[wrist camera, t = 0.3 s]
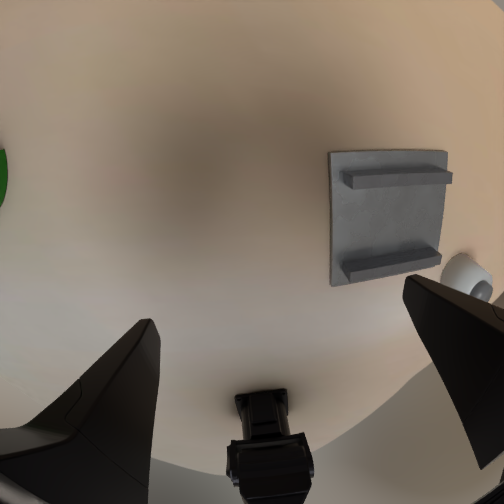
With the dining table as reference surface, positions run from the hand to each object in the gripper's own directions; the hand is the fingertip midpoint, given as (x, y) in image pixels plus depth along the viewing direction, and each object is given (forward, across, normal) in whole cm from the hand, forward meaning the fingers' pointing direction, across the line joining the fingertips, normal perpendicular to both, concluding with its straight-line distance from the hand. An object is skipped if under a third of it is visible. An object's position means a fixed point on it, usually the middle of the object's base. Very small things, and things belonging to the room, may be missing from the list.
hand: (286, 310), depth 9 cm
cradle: (+14, -12, +3) cm, 19 cm away
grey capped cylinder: (+14, -23, +12) cm, 29 cm away
